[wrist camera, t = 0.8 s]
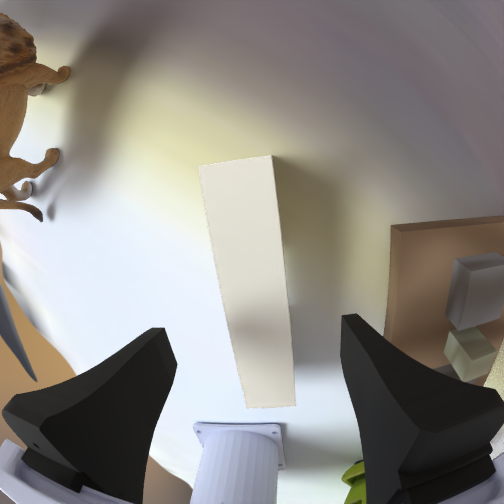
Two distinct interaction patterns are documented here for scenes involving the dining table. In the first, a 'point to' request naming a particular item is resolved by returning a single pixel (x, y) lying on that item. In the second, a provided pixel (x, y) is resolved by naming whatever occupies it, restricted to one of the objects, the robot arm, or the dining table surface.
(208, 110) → the dining table surface
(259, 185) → the cream bar
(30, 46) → the lion figurine
